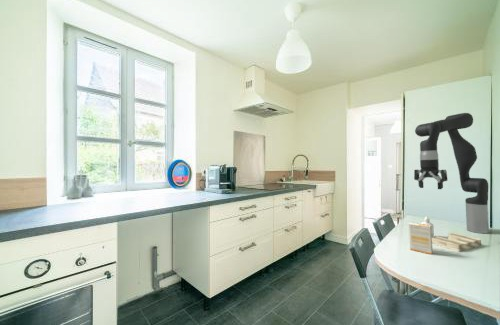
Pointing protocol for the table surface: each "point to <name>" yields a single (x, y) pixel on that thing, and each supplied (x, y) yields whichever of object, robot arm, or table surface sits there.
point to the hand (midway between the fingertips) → (430, 188)
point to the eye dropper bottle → (427, 221)
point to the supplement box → (420, 237)
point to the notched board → (457, 242)
